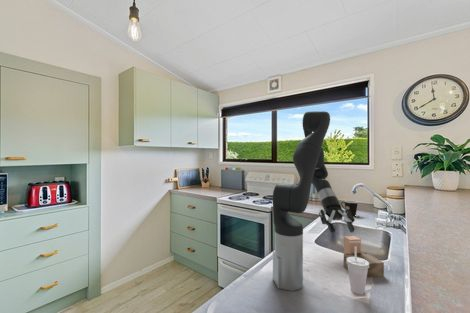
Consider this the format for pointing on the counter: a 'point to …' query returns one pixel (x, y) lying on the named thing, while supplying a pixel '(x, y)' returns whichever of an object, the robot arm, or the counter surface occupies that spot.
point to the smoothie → (357, 273)
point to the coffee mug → (351, 206)
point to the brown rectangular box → (374, 264)
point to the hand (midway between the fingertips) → (343, 232)
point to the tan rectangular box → (351, 244)
